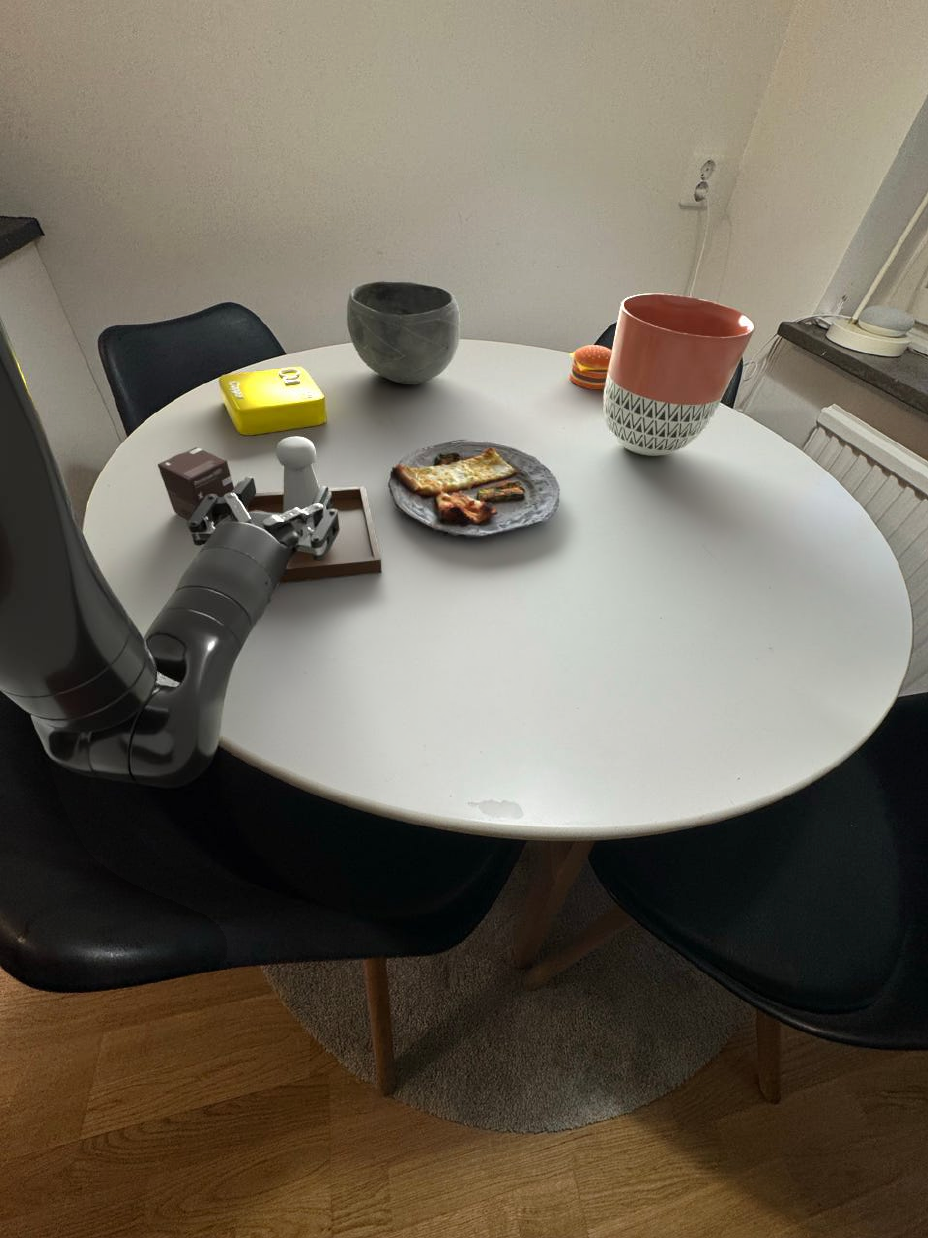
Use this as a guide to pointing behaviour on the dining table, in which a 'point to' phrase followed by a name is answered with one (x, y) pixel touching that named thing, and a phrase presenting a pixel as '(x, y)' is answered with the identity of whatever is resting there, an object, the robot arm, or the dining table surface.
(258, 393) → the element tile
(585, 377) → the hamburger
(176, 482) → the box
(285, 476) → the salt shaker
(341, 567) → the tray
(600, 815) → the dining table surface
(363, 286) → the bowl
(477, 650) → the dining table surface
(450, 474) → the food plate
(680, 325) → the planter
